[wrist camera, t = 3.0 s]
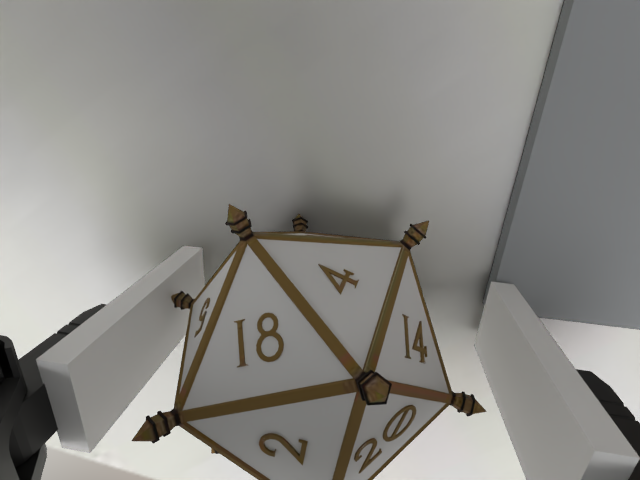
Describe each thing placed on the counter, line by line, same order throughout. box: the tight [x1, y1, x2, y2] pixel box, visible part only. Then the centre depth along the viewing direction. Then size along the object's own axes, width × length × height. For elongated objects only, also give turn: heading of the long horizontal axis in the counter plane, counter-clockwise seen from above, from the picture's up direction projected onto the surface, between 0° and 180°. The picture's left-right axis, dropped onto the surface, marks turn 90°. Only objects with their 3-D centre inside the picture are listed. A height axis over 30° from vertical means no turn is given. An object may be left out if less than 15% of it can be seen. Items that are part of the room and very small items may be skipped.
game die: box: [132, 204, 487, 480], centre depth 11 cm, size 9×8×10 cm
